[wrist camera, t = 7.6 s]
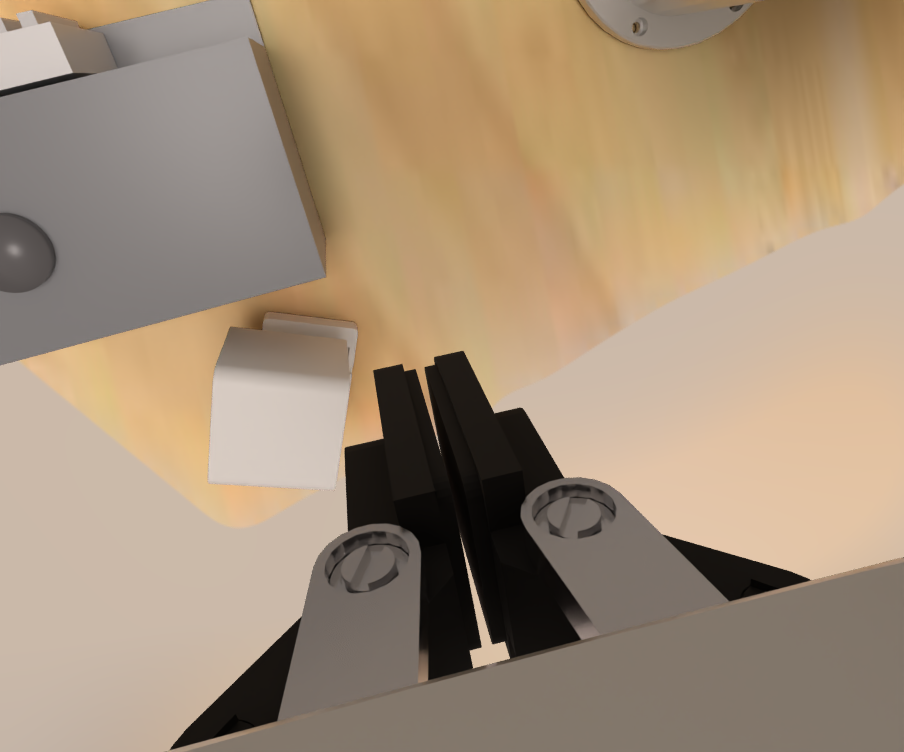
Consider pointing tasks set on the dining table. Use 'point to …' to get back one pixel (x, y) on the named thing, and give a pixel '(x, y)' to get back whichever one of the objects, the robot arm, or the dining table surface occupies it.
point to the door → (48, 52)
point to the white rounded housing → (281, 403)
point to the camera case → (151, 185)
